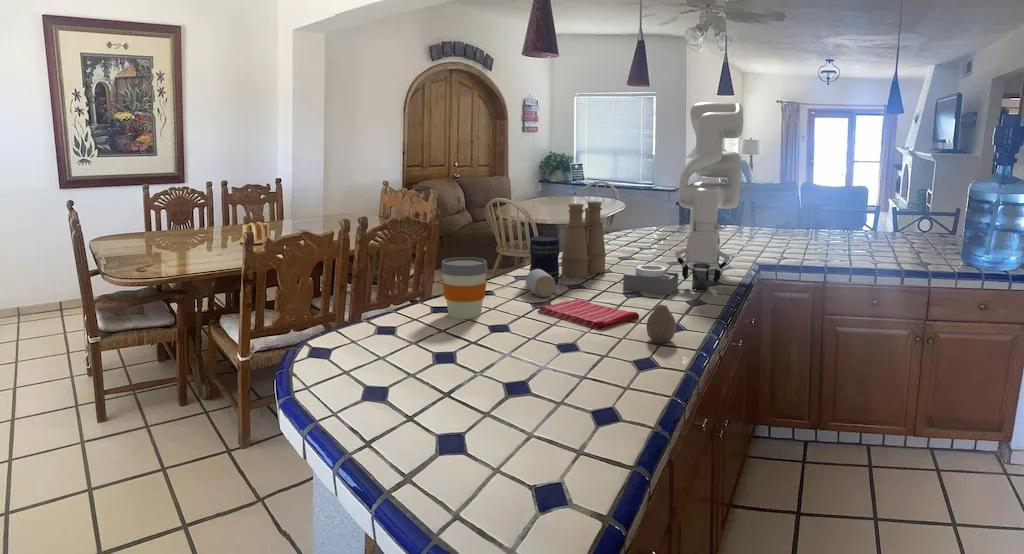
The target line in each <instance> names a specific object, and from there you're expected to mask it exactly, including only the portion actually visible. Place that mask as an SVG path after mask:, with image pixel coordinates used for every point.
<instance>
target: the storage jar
mask: <svg viewBox="0 0 1024 554" xmlns="http://www.w3.org/2000/svg"><path fill="white" fill-rule="evenodd" d="M529 239H530V240H529V241H530V242H529V243H530V245H529V255H530V267H529V272H531V271H532V270H535V269H541V270H543V271H545V272H546V273H547V274H549V275H550V276H551V277H552V278H553V279H554V280H555V283H556V285H558V284H559V283H558V282H560V281H559V278H560V277H559V276H560V266H559V256H560V249H561V248H560V237H557V236H551V235H538V236H532V237H530V238H529ZM557 283H558V284H557Z"/></svg>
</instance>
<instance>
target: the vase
mask: <svg viewBox="0 0 1024 554" xmlns="http://www.w3.org/2000/svg"><path fill="white" fill-rule="evenodd" d="M676 327H677V324H676V320H675V317H674V315H673V314H672V313H671V311H670V309H669V307H668V306H667V305H666V304H658V305H656V307H655V309H654V310H653V311H652V312H651V313H650V315H649V316H648V318H647V321H646V332H647V336H648V337H649V339H650V340H651V341H652V342H653V343H658V344H665V343H667V344H668V343H669V342H670V341H671V340H672V339H673V338H674V337H675V334H676V329H677V328H676Z"/></svg>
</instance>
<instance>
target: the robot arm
mask: <svg viewBox="0 0 1024 554" xmlns="http://www.w3.org/2000/svg"><path fill="white" fill-rule="evenodd" d="M689 115H690V123H691V125H692V127H693V128H692V129H693V130H694V134H695V138H696V139H695V140H696V141H695V155H694V157H693V158H692V159H691V160H689V162H688V163H687V164H686V165H685V166H684V168H683V170H682V172H681V175H680V179H679V187H678V203H679V205H680V206H681V207H682V208H684V209H689V210H690V212H689V213H690V214H689V215H690V217H689V219H690V220H689V231H688V232H689V233H688V236H687V241H686V247H685V248H682V249H680V250H678V251H676V252H674V255H675V257H676V259H677V262H678V263H679V264H680V266H681V268H682V271H681V276H682V277H683V280H686V279H688V278H689V269H691V270H693V264H695V263H706V264H709V265H710V271H711V270H714V276H713V282H714V283H716V284H717V283H718V281H719V280H720V279H721V273H722V272H721V270H722V269H723V268H725V267H726V266H727V265H728V263H729V261H730V260H731V256H730V255H728V254H726V253H725V252H723V251H721V250H720V249H721V240H720V239H721V238H720V232H719V231H717V230H721V229H722V224H719V223H718V213H719V212H718V211H719V209H725V210H726V209H727V210H729V209H735V208H737V206H738V205H739V203H740V202H739V201H740V193H741V181H742V180H741V178H742V157H741V155H740V154H739V153H738V152H735V151H723V143H724V141H723V140H724V139H738V138H740V137H741V136H742V133H743V130H744V109H743V106H742V104H741V103H739V102H733V101H732V102H730V101H729V102H728V101H724V102H720V101H718V102H717V101H716V102H714V101H711V102H709V101H707V102H705V101H704V102H697V103H695V104H693V105H692V106H691V108H690V113H689ZM694 173H695V174H696V175H697V177H698V178H702V179H703V178H704V179H724V180H726V181H727V182H725V181H722V182H721V181H719V182H718V181H698V182H694V183H693V184H689V180H690V178H691V176H692V175H693V174H694ZM682 254H685V259H684V258H683V257H682ZM720 258H722V259H724V260H723V262H721V263H720V262H719V261H720Z"/></svg>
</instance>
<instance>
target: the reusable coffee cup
mask: <svg viewBox="0 0 1024 554" xmlns="http://www.w3.org/2000/svg"><path fill="white" fill-rule="evenodd" d="M440 272H441V274H442V278H443V281H442V283H441V284H442V288H443V295H444V299H445V300H446V307H447V314H448V316H449V317H450V318H451V319H457V320H458V319H459V320H471V319H476V318H480V317H481V315H482V310H483V309H482V308H483V302H484V300H483V299H485V296H486V288H487V280H486V276H487V273H488V262H487V260H486V259H484V258H481V257H470V256H467V257H466V256H464V257H463V256H461V257H459V256H458V257H451V258H445V259H443V260H442V261H441V269H440Z"/></svg>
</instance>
